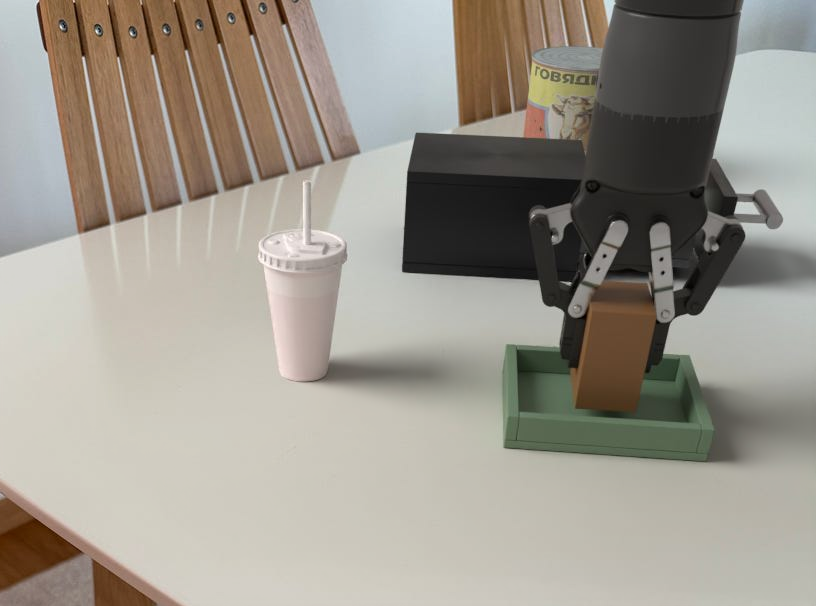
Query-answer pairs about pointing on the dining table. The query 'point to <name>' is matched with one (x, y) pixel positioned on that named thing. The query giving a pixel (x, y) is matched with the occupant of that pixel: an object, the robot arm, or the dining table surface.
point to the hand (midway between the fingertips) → (607, 364)
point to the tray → (598, 429)
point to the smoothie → (303, 293)
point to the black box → (487, 203)
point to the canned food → (562, 93)
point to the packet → (614, 347)
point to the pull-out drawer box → (724, 212)
